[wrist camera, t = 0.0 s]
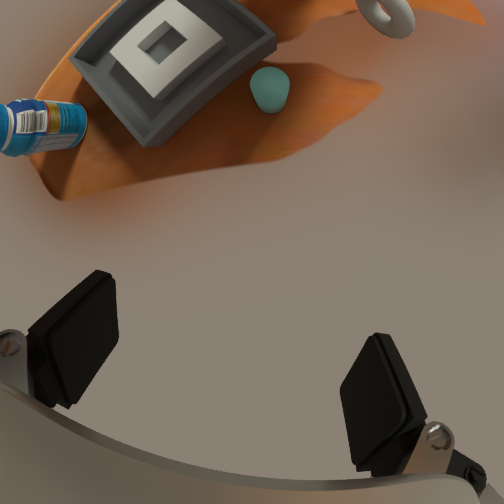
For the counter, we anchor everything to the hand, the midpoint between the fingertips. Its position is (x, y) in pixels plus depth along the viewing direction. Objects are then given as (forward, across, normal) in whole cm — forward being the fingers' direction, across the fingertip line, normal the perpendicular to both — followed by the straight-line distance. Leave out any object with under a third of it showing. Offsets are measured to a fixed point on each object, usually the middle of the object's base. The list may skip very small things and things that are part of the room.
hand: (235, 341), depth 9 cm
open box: (+31, +18, -19) cm, 41 cm away
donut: (+31, -10, -31) cm, 45 cm away
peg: (+31, +2, -13) cm, 34 cm away
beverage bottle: (+31, +34, -6) cm, 47 cm away
